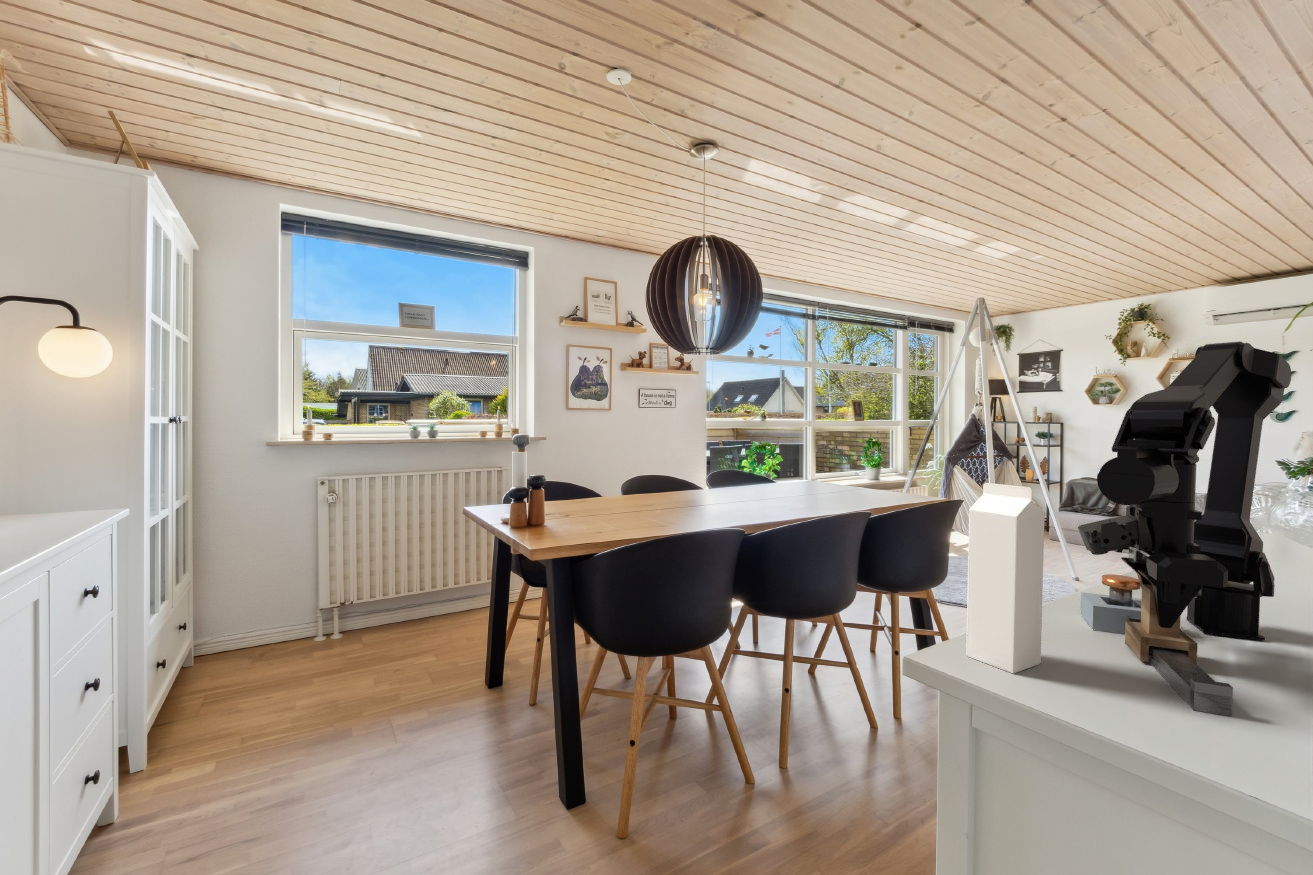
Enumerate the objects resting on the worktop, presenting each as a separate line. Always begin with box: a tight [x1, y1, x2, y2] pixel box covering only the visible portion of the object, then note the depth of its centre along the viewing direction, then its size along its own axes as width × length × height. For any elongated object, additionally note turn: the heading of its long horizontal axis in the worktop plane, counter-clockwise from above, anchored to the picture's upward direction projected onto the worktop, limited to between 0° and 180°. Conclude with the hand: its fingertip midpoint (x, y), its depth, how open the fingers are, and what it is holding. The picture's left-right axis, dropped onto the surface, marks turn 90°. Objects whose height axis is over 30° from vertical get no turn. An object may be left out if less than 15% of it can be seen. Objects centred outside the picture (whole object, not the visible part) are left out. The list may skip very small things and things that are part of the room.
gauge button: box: [1101, 573, 1141, 607], centre depth 85 cm, size 4×4×4 cm
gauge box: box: [1080, 591, 1142, 635], centre depth 85 cm, size 8×7×4 cm
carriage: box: [1124, 584, 1199, 665], centre depth 74 cm, size 5×6×8 cm
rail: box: [1127, 616, 1234, 717], centre depth 70 cm, size 3×22×3 cm, turn 156°
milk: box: [965, 482, 1046, 675], centre depth 73 cm, size 6×6×22 cm
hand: (1159, 622), depth 74 cm, fingers closed on carriage, 3 cm apart
